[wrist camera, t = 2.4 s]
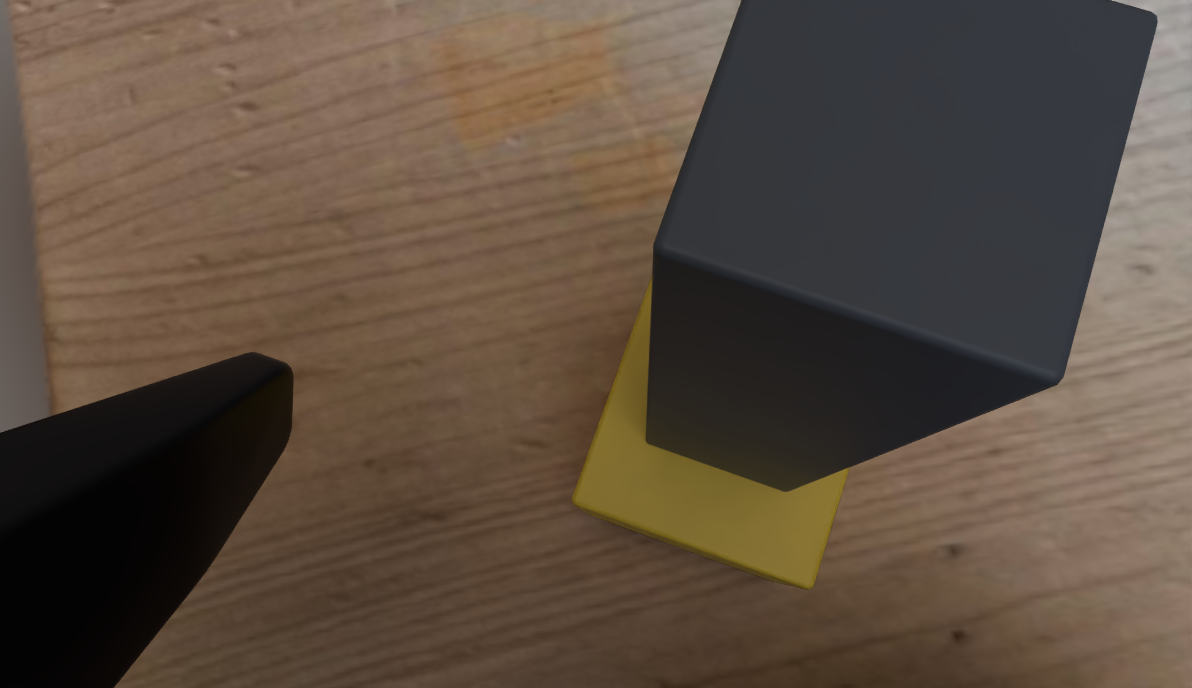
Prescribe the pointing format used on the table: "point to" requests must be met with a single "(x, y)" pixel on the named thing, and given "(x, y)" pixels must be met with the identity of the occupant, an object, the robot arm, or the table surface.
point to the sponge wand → (860, 257)
